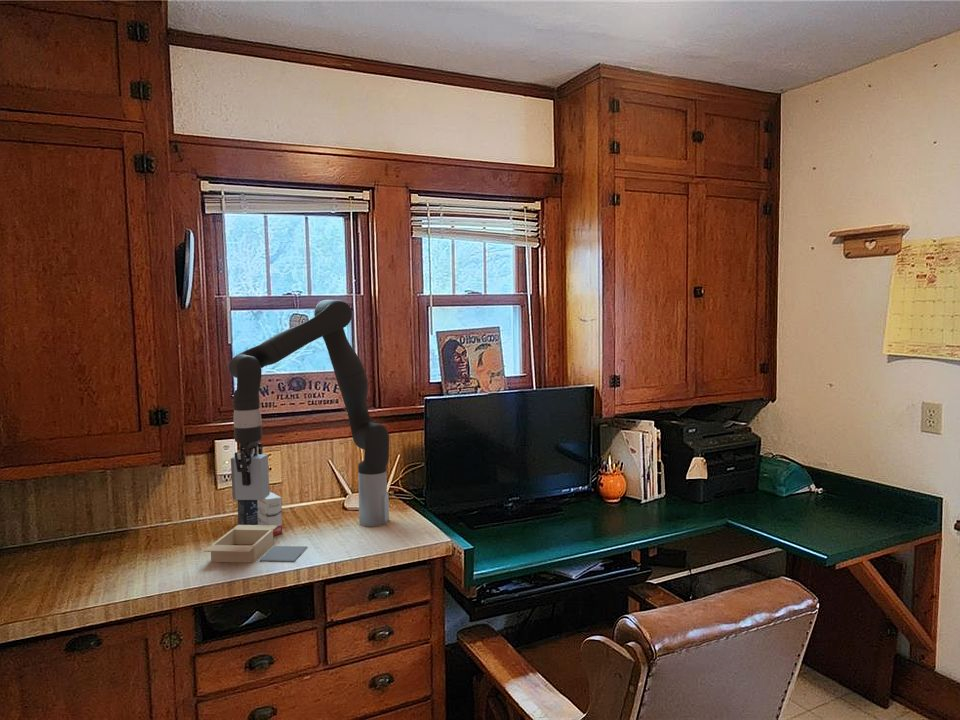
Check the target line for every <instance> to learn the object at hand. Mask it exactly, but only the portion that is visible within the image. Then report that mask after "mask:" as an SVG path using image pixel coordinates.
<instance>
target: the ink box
mask: <svg viewBox="0 0 960 720" xmlns="http://www.w3.org/2000/svg"><path fill="white" fill-rule="evenodd" d="M269 492H270V491H269ZM257 503H258V524H257V525H278V527H276V528H275V529H274V530H273V536H276V535H281V534H283V515H282V514H283V510H282V509H283V508H282V497H281V496H279V495H277V494H275V493H274V492H270V495H269V496H267V497H266V498H265V499H263V500H257ZM280 533H281V534H280Z"/></svg>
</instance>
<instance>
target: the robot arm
mask: <svg viewBox="0 0 960 720" xmlns="http://www.w3.org/2000/svg"><path fill="white" fill-rule="evenodd" d="M352 311H353V310H352V308H351V306H350V305H349V304H348V303H347V302H345V301H344V300H341V299H323V300H321V301H319V302H318V303H317V304H316V306H315V307H314V313H313V315H314V317H312V318H310V319H308V320H306V321H305V322H303V323H300V324H298V325H295V326H293V327H289V328H287V329H284V330H283V331H280V332H278V333H277V334H275V335H273V336H271V337H270V338H268V339H267V340H264V341H263V342H261V343H260V344H258V345H255V346H253V347H251V348H249V349H247V350H244V351H241V352H240V353H238V354H236V355H235V356H234V357H232V359H231V360H230V361H229V364H228V371H229V373H230V374H231V376H233V377H234V378H235V379H236V389H235V390H234V392H233V397H232V399H233V431H234V436H233V437H234V442H236V443H238V444H239V451H237V452H234V457H235V460H236V466H237V472H241V473H242V485H244V486H249V485H250V484H251V478H250V464H252V458H253V456H255V455H263V447H264V446H263V442H260V441H261V440H262V439H263V424H262V413H261V405H260V403H261V402H260V389H261V384H262V382H261V381H262V372H263V371H262V369H263V368H265V367H266V366H272V365H275V364H277V363H278V362H279V361H282V360H283V359H285V358H287V357H289V356H290V355H292V354H293V353H295V352H296V351H298V350H300V349H301V348H303V347H305V346H307V345H308V344H311V343H312V342H314V341H316V340H318V339H320V338H322V339H323V340H324V344H325V346H326V350H327V353H328V355H329V360H330V362H331V366H332V369H333V372H334V376H335V380H336V382H337V385H338V389H339V391H340V393H341V397H342V401H343V404H344V407H345V409H346V413H347V417H348V421H349V427H350V430H351V431H350V432H351V436H352V440H353V442H354V444H355V445H356V446H357V447H358V448H359V449H362V450H363V451H364V454H363V455H364V459H363V460H361V461H360V462H359V463H358V465H357V474H358V475H357V476H358V477H357V479H358V486H357V487H358V519H359V521H358V522H359V525H360V526H363V527H370V528H372V527H380V526H386V525H387V523H388V522H389V520H390V509H389V508H390V505H389V503H390V502H389V497H390V496H389V495H390V494H389V491H388V487H387V486H388V485H387V484H388V481H387V480H388V479H387V477H388V476H387V466H388V464H389V459H390V434H389V431H388V429H387V428H386V426H384V425H383V424H381V423H376V422H373V420H372V418H371V416H370V412H369V409H368V403H367V400H368V391H369V381H368V378H367V374H366V372H365V371H366V370H365V367H364V365H363V362H362V361H361V359H360V357H359V356H358V354H357V353H356V351H355V350H354V349H353V347H352V345H351V343H350V342H349V340H348V337H347V335H346V332H345V329H344V328H346V327H347V326H348V325H349V324H350V323H351V321H352V318H353V312H352ZM249 458H250V459H249ZM246 459H249V461H246ZM240 465H241V467H240Z"/></svg>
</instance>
